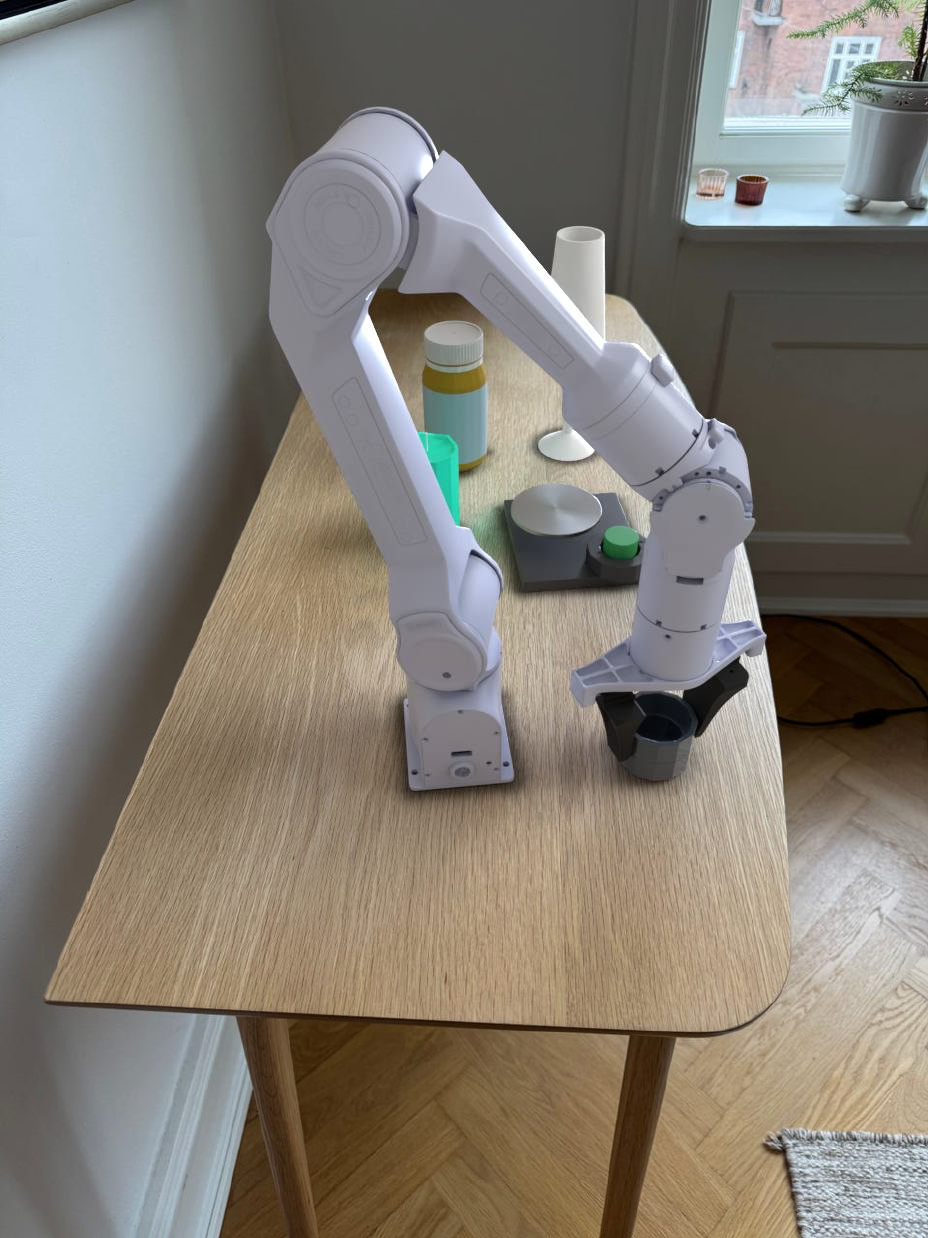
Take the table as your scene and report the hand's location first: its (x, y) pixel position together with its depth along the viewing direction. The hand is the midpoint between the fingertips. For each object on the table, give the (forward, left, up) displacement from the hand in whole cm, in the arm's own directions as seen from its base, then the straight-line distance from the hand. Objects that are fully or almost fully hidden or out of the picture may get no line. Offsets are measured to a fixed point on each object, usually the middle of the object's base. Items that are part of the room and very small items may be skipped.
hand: (655, 739), depth 70 cm
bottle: (+46, +11, -2) cm, 47 cm away
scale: (+28, +1, -2) cm, 28 cm away
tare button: (+23, -2, +1) cm, 23 cm away
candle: (+31, +15, -2) cm, 34 cm away
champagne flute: (+47, -2, -2) cm, 47 cm away
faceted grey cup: (0, 0, -2) cm, 2 cm away
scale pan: (+30, +3, +1) cm, 30 cm away
